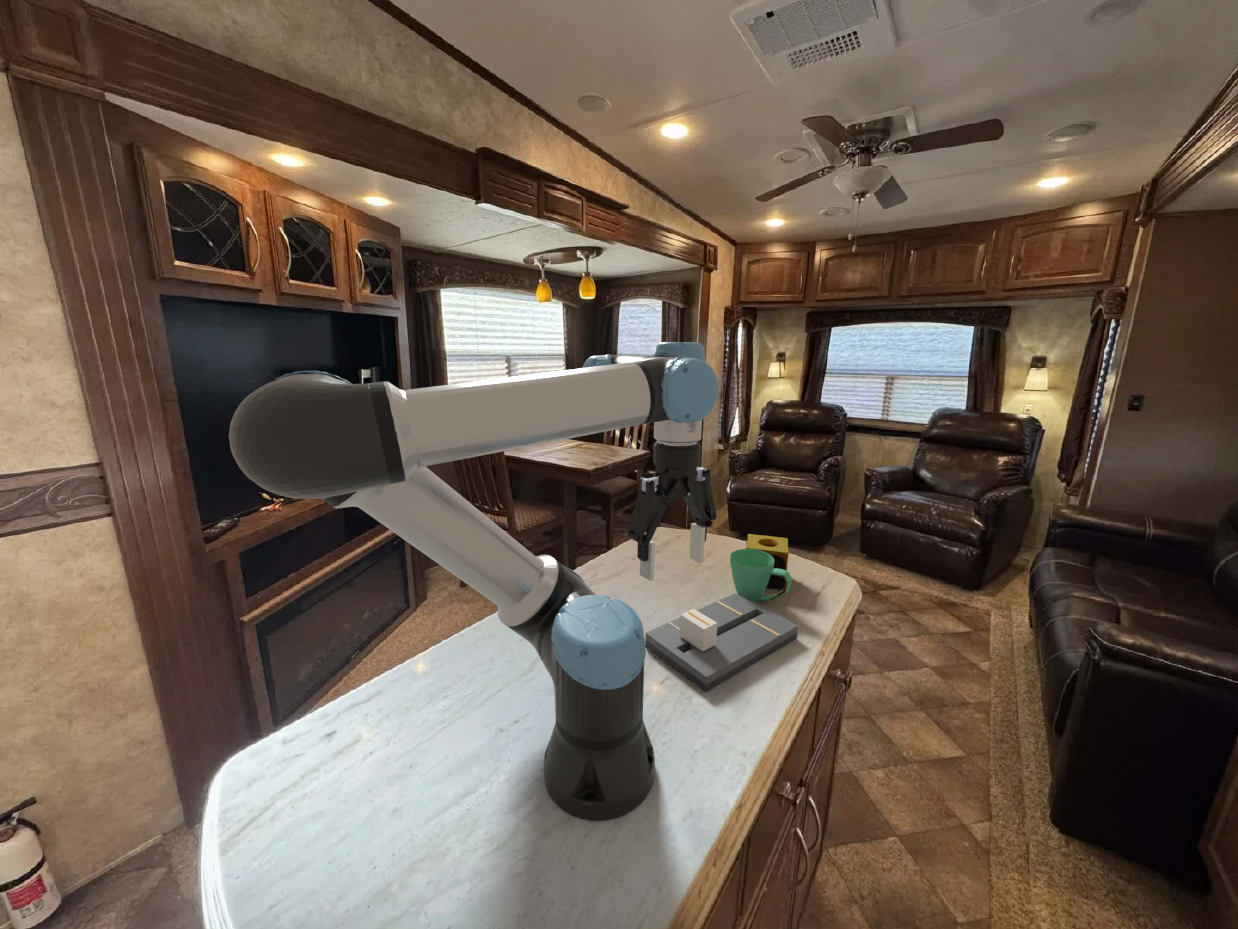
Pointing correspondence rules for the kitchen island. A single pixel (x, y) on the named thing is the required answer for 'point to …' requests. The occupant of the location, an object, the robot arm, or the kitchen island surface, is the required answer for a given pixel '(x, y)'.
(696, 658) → the console
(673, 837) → the kitchen island surface
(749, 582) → the mug
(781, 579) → the yellow cube with holes
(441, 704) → the kitchen island surface
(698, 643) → the fader tab
